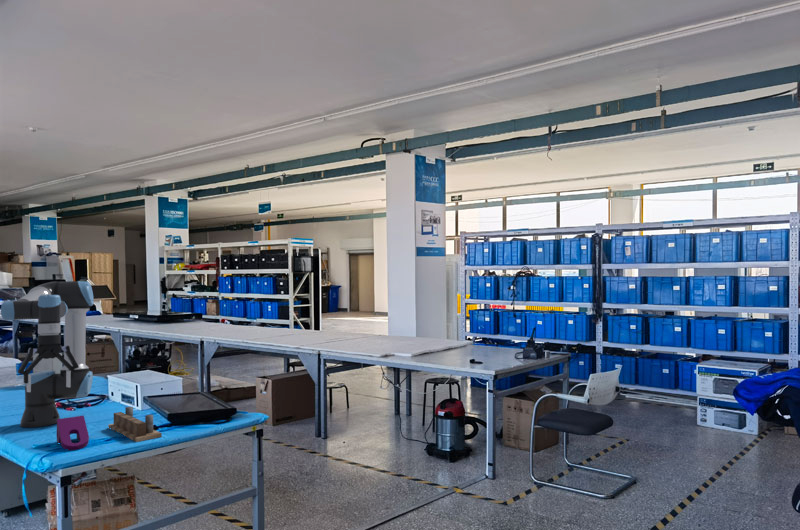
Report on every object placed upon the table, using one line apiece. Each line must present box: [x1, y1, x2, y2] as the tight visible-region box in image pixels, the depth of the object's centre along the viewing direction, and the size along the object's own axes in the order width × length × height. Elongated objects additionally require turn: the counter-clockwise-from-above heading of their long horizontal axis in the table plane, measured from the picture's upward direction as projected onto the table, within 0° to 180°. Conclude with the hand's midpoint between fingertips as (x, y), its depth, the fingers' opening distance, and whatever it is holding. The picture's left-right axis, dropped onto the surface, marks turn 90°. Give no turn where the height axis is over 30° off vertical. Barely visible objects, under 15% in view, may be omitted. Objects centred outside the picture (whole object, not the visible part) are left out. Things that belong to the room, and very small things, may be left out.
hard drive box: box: [32, 352, 63, 374], centre depth 354 cm, size 16×8×20 cm, turn 74°
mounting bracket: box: [56, 415, 90, 451], centre depth 228 cm, size 10×8×18 cm
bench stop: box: [107, 406, 163, 443], centre depth 244 cm, size 32×10×8 cm, turn 45°
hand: (48, 389), depth 222 cm, fingers open, 13 cm apart
